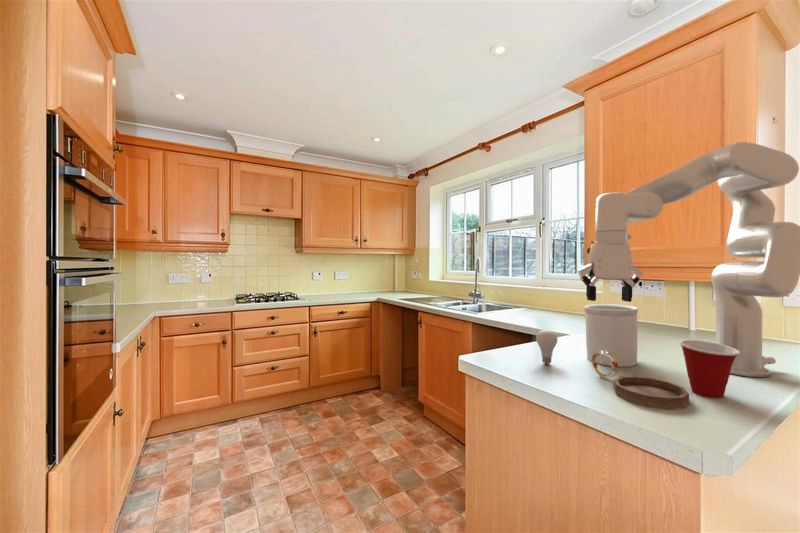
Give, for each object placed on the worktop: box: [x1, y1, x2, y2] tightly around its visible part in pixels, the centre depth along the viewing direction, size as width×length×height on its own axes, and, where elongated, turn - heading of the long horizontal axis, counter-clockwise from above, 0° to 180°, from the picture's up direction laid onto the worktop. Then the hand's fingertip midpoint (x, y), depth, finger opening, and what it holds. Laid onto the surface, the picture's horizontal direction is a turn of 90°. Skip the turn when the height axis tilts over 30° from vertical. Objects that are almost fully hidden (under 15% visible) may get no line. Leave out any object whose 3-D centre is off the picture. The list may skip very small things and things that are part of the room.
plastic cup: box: [679, 339, 740, 399], centre depth 82 cm, size 11×11×12 cm
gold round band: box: [591, 349, 618, 379], centre depth 94 cm, size 7×3×8 cm, turn 14°
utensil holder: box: [583, 303, 639, 368], centre depth 110 cm, size 15×15×18 cm
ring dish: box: [613, 375, 690, 411], centre depth 81 cm, size 14×14×2 cm
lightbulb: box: [535, 329, 558, 365], centre depth 107 cm, size 6×6×11 cm
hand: (608, 300), depth 94 cm, fingers open, 9 cm apart
